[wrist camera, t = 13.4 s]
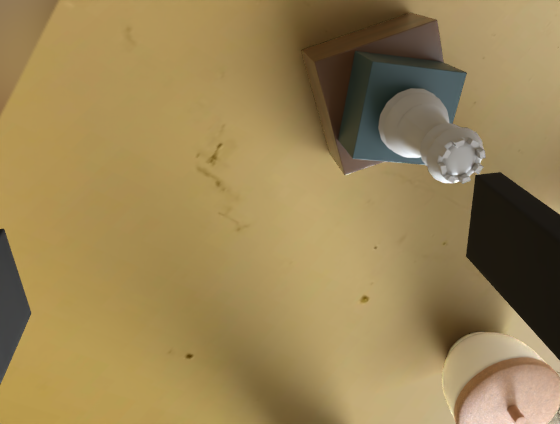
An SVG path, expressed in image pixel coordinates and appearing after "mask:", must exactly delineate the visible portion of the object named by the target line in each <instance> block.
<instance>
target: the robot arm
mask: <svg viewBox="0 0 560 424" xmlns="http://www.w3.org/2000/svg"><path fill="white" fill-rule="evenodd" d="M466 257H467V258H468V259H469V260H470V261H471V262H472V264H473V265H474V266H475V267H476V268H477V269H478V270H479V271H480V272H481V274H482V275H483V276H484V277H485V278H486V279H487V280H488V281H489V282H490V283H491V285H492V286H493V287H494V288H495V289H496V290H497V291H498V292H499V293H500V295H501V296H502V297H503V298H504V299H505V300H506V301H507V302H508V303H509V305H510V306H511V307H512V308H513V309H514V310H515V311H516V312H517V313H518V315H519V316H520V317H521V318H522V319H523V320H524V321H525V322H526V323H527V325H528V326H529V327H530V328H531V329H532V330H533V331H534V332H535V333H536V335H537V336H538V337H539V338H540V339H541V340H542V341H543V342H544V343H545V345H546V346H547V347H548V348H549V349H550V350H551V351H552V352H553V353H554V354H555V356H556V357H557V358H558V359H559V360H560V215H559V214H558V213H557V212H555V211H554V210H552V209H551V208H550V207H548V206H547V205H545V204H544V203H543V202H541V201H540V200H538V199H537V198H536V197H534V196H533V195H531V194H530V193H529V192H527V191H526V190H524V189H523V188H522V187H520V186H519V185H517V184H516V183H515V182H513V181H512V180H510V179H509V178H508V177H506V176H505V175H503V174H502V173H501V172H498V173H489V174H481V175H475V184H474V193H473V201H472V210H471V218H470V227H469V236H468V244H467V253H466ZM30 315H31V311H30V308H29V305H28V301H27V298H26V295H25V292H24V289H23V286H22V283H21V280H20V277H19V274H18V270H17V267H16V264H15V261H14V258H13V255H12V252H11V249H10V246H9V243H8V239H7V236H6V233H5V230H4V229H0V384H1V382H2V379H3V377H4V375H5V373H6V370H7V368H8V366H9V363H10V361H11V359H12V356H13V354H14V352H15V350H16V347H17V345H18V343H19V340H20V338H21V336H22V334H23V331H24V329H25V327H26V324H27V322H28V320H29V317H30Z"/></svg>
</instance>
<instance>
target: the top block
mask: <svg viewBox="0 0 560 424" xmlns="http://www.w3.org/2000/svg"><path fill="white" fill-rule="evenodd" d="M466 74H467V73H466V72H464V71H461V70H459V69H457V68H455V67H452V66H450V65H448V64H445V63H443V62H441V61H433V60H425V59H417V58H409V57H401V56H393V55H385V54H377V53H369V52H361V51H355V54H354V60H353V65H352V70H351V75H350V80H349V86H348V91H347V96H346V101H345V107H344V112H343V117H342V122H341V127H340V133H339V138H338V141H339V142H340V143H341V145H342V146H343V147H344V148H345V150H346V151H347V152H348V153H349V155H350V156H351V157H352V159H362V160H374V161H386V162H398V163H410V164H422V165H426V164H425V163H424V162H423V161H422V159H421V157H419V158H407V157H403V156H401V155H399V154H397V153H395V152H393V151H392V150H391V149H389V148H388V147H387V146H386V145H385V143H384V142H383V141H382V140H381V136H380V133H379V129H378V126H379V120H380V114H381V112H382V111H383V109H384V107H385V105H386V103H387V102H388V101H389V100H390V99H392V98H393V97H394V96H395V95H396V94H397V93H400V92H402V91H405V90H408V89H410V88H414V89H425V90H427V91H429V92H431V93H433V94H434V95H435V96H436V97H437V98H439V99H440V100H441V102H442V103H443V105H444V106H445V107H446V109H447V112H448V117H449V123H451V124H453V120H454V117H455V113H456V110H457V106H458V102H459V99H460V95H461V92H462V88H463V85H464V81H465V77H466Z"/></svg>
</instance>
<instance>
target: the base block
mask: <svg viewBox="0 0 560 424" xmlns="http://www.w3.org/2000/svg"><path fill="white" fill-rule="evenodd" d="M355 51H361V52H369V53H377V54H385V55H393V56H401V57H409V58H417V59H425V60H433V61H441V62H443V55H442V49H441V42H440V36H439V29H438V23H437V20H436V19H432V18H428V17H425V16H421V15H418V14H414V13H408V14H405V15H402V16H399V17H396V18H393V19H390V20H387V21H384V22H381V23H379V24H376V25H373V26H370V27H367V28H364V29H361V30H358V31H355V32H352V33H349V34H347V35H344V36H341V37H338V38H335V39H332V40H329V41H326V42H323V43H320V44H318V45H315V46H312V47H309V48H306V49H303V50H301V52H302V56H303V59H304V63H305V67H306V70H307V74H308V77H309V81H310V85H311V88H312V92H313V96H314V99H315V103H316V106H317V110H318V114H319V117H320V121H321V124H322V128H323V132H324V135H325V139H326V143H327V146H328V150H329V153H330V155H331V156H332V158H333V159H334V161H335V162H336V163H337V165H338V166H339V168H340V169H341V171H342V172H343V173H344V175H347V174H350V173H353V172H356V171H358V170H361V169H364V168H367V167H370V166H373V165H376V164H379V163H382V162H385V161H374V160H362V159H352V157H351V156H350V155H349V153H348V152H347V151H346V150H345V148H344V147H343V146H342V145H341V143H340V142H339V141H338V138H339V133H340V127H341V122H342V117H343V112H344V107H345V101H346V96H347V91H348V86H349V80H350V75H351V70H352V65H353V60H354V54H355ZM443 63H444V62H443Z"/></svg>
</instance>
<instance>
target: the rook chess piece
mask: <svg viewBox="0 0 560 424" xmlns="http://www.w3.org/2000/svg"><path fill="white" fill-rule="evenodd" d="M378 129H379V133H380V136H381V140H382V141H383V142H384V143H385V145H386V146H387V147H388V148H389V149H391V150H392V151H393V152H395V153H397V154H399V155H401V156H403V157H407V158H419V157H421V159H422V161H423V162H424V163H425V164H426V166H428V171H429V172H430V174H431V175H432V176H433V177H434V179H436V180H438V181H440V182H443V183H456V182H459V181H460V182H461V183H462V184H463V183H466V182H468V181H471V179H470V177H469V176H470V175H471V174H472V173H474V172H476V173H477V174H478V175H479V173H480V171H481V170H482V168H483V166H482V165H481V164H480V163H481V160H482V159H483V158H486V157H485V150H484V149H483V144H482V140H481V138H480V137H479V136H478V134H477V133H476V132H475V131H473V130H471V129H469V128H463V127H459V126H457V125H455V124H451V123H449V117H448V112H447V109H446V107H445V106H444V105H443V103H442V102H441V100H440V99H439V98H437V97H436V96H435V95H434V94H433V93H431V92H429V91H427V90H425V89H414V88H410V89H408V90H405V91H402V92H400V93H397V94H396V95H395V96H394V97H393V98H392V99H390V100H389V101H388V102H387V103H386V105H385V107H384V109H383V111H382V112H381V114H380V120H379V126H378Z"/></svg>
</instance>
